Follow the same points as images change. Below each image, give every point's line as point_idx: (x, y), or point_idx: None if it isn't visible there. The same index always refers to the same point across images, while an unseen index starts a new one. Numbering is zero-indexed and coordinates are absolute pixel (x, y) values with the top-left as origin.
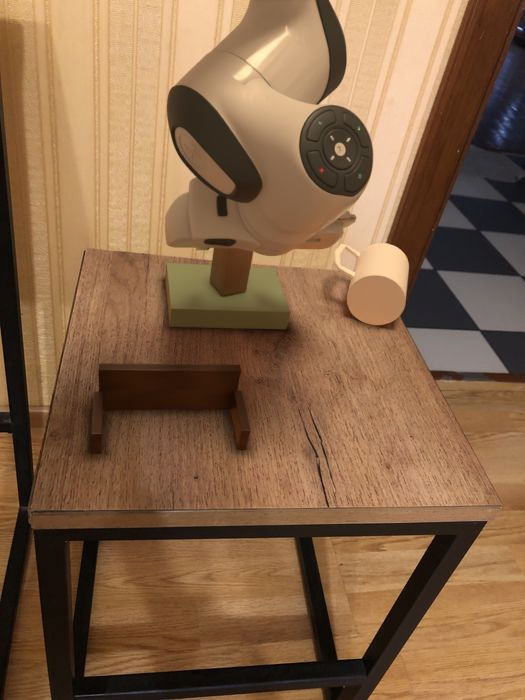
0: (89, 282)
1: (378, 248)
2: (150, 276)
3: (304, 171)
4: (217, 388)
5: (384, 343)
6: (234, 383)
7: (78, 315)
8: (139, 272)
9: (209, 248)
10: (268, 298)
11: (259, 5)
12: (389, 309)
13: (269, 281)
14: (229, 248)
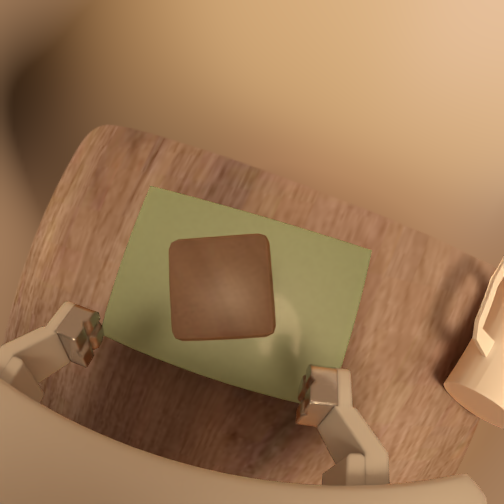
0: (62, 188)
1: None
2: (144, 185)
3: None
4: None
5: (443, 442)
6: None
7: (27, 262)
8: (133, 171)
9: (90, 359)
10: (304, 358)
11: None
12: (485, 416)
13: (337, 297)
14: (176, 338)
